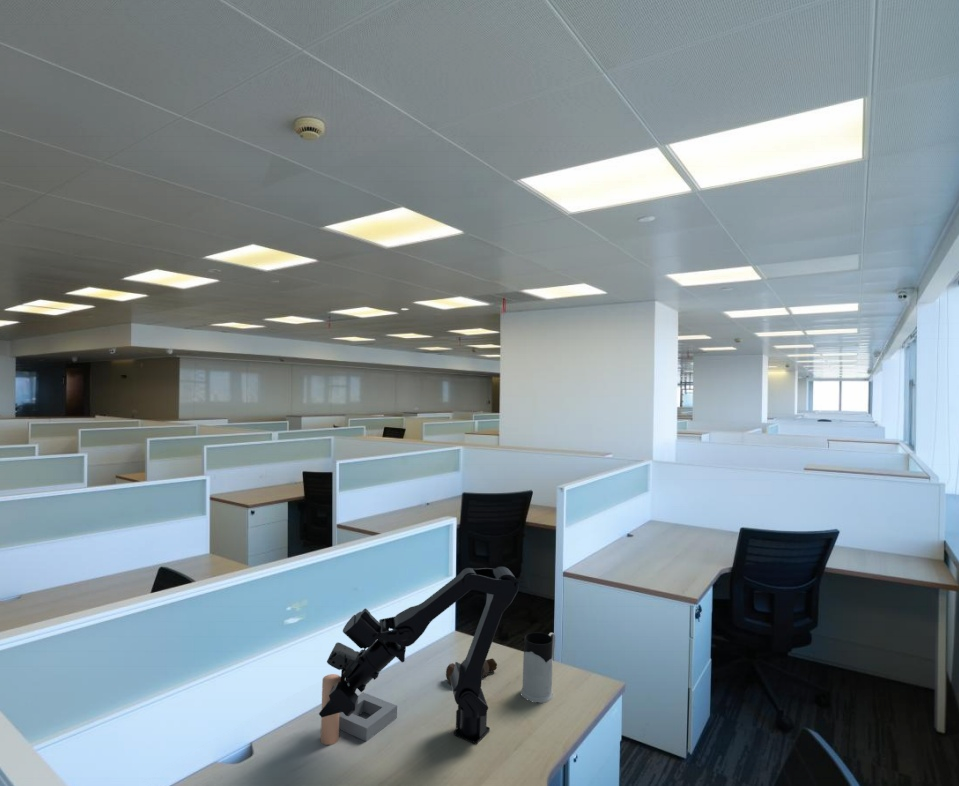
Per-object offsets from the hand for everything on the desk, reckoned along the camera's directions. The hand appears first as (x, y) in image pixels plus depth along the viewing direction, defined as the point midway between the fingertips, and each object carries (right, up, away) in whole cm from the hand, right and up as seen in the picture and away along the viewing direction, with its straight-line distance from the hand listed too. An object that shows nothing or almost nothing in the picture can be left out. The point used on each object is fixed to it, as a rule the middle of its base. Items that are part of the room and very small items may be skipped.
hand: (324, 706), depth 128 cm
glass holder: (+52, -9, +24) cm, 59 cm away
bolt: (+34, -9, +30) cm, 46 cm away
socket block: (+8, -8, +7) cm, 13 cm away
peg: (+1, -8, 0) cm, 8 cm away
